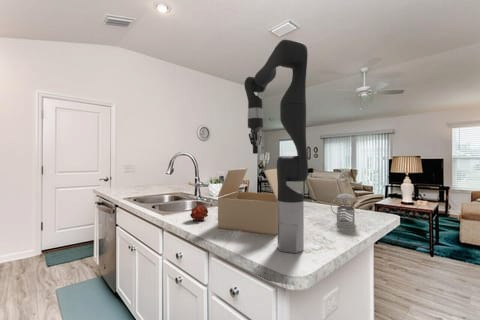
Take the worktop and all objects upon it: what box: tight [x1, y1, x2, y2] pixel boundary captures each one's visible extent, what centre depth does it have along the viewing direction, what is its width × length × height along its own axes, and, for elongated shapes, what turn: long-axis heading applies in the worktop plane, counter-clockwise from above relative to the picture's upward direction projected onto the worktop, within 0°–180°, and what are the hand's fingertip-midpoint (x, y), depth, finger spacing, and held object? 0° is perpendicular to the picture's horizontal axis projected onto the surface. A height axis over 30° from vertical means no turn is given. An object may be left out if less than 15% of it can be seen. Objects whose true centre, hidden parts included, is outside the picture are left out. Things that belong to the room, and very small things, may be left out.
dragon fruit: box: [189, 204, 209, 222], centre depth 126 cm, size 8×8×12 cm
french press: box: [330, 173, 358, 229], centre depth 116 cm, size 10×12×25 cm
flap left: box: [217, 167, 249, 198], centre depth 122 cm, size 23×14×1 cm
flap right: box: [263, 168, 278, 201], centre depth 113 cm, size 23×14×1 cm
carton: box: [217, 191, 278, 236], centre depth 117 cm, size 24×28×14 cm
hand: (255, 153), depth 118 cm, fingers closed
